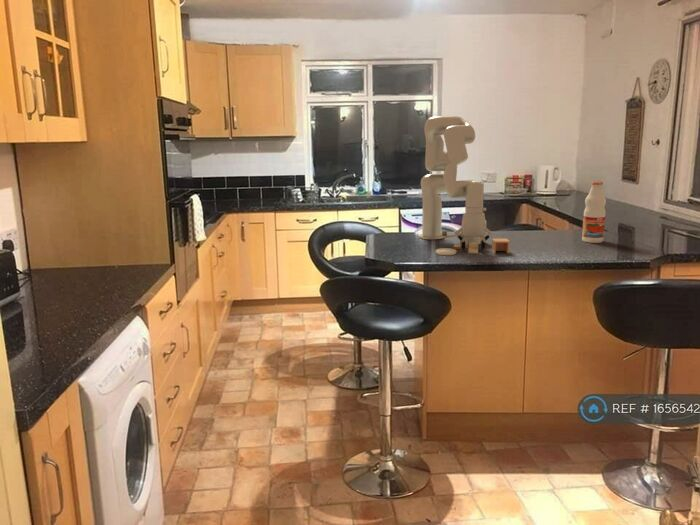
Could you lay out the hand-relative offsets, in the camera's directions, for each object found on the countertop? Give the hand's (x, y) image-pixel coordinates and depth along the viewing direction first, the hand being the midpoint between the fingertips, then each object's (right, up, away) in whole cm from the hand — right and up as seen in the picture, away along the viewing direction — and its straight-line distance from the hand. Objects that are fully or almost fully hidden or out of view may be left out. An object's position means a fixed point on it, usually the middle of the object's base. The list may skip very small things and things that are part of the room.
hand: (472, 250), depth 257 cm
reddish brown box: (+12, -1, -1) cm, 12 cm away
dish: (-12, -1, -1) cm, 12 cm away
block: (0, -1, 0) cm, 1 cm away
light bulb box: (+4, +3, +18) cm, 19 cm away
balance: (-3, +1, +9) cm, 10 cm away
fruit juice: (+61, +4, +18) cm, 63 cm away
